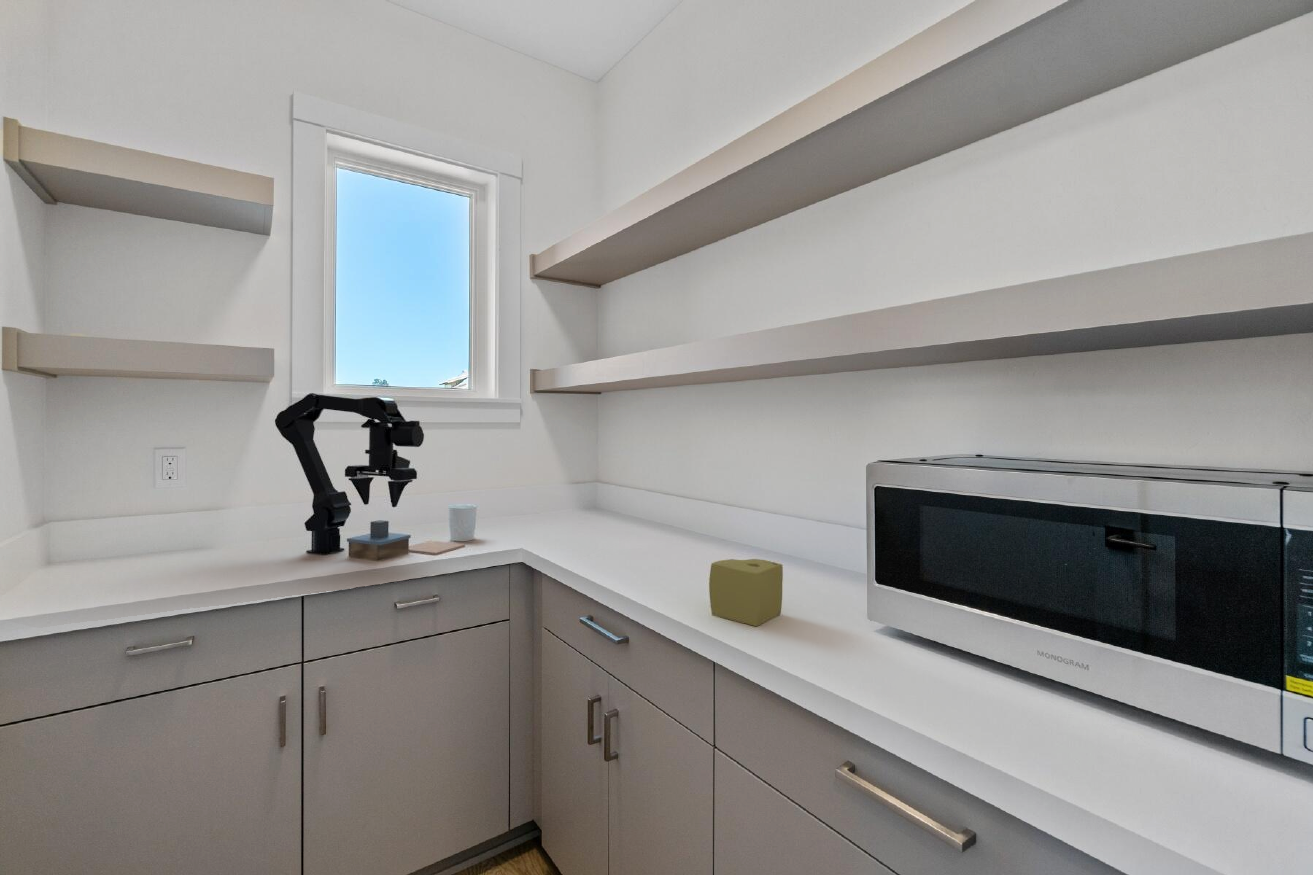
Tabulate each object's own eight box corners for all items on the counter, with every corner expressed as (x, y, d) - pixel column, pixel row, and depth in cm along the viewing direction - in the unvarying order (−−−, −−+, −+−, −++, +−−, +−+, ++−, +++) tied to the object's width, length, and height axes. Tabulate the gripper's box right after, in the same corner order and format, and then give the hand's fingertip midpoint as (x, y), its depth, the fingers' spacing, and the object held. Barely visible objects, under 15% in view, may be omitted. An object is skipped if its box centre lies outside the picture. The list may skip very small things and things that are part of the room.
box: (348, 557, 149) (348, 541, 148) (378, 549, 158) (379, 534, 158) (379, 560, 145) (379, 545, 145) (408, 552, 155) (408, 537, 155)
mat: (399, 550, 157) (399, 548, 157) (430, 542, 168) (430, 540, 168) (435, 555, 153) (435, 552, 153) (464, 546, 164) (464, 544, 164)
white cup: (470, 542, 170) (471, 508, 170) (444, 541, 170) (444, 507, 170) (479, 537, 178) (480, 504, 178) (454, 536, 178) (454, 504, 178)
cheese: (736, 603, 118) (737, 554, 118) (785, 615, 111) (786, 563, 111) (707, 615, 110) (708, 562, 110) (757, 629, 103) (759, 573, 103)
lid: (346, 544, 148) (347, 522, 148) (379, 537, 158) (379, 516, 158) (379, 548, 145) (379, 526, 145) (410, 540, 155) (410, 519, 155)
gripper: (432, 446, 156) (431, 504, 156) (376, 443, 162) (375, 499, 162) (401, 447, 145) (400, 509, 146) (343, 444, 151) (342, 504, 152)
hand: (380, 505), depth 151 cm, fingers open, 9 cm apart
